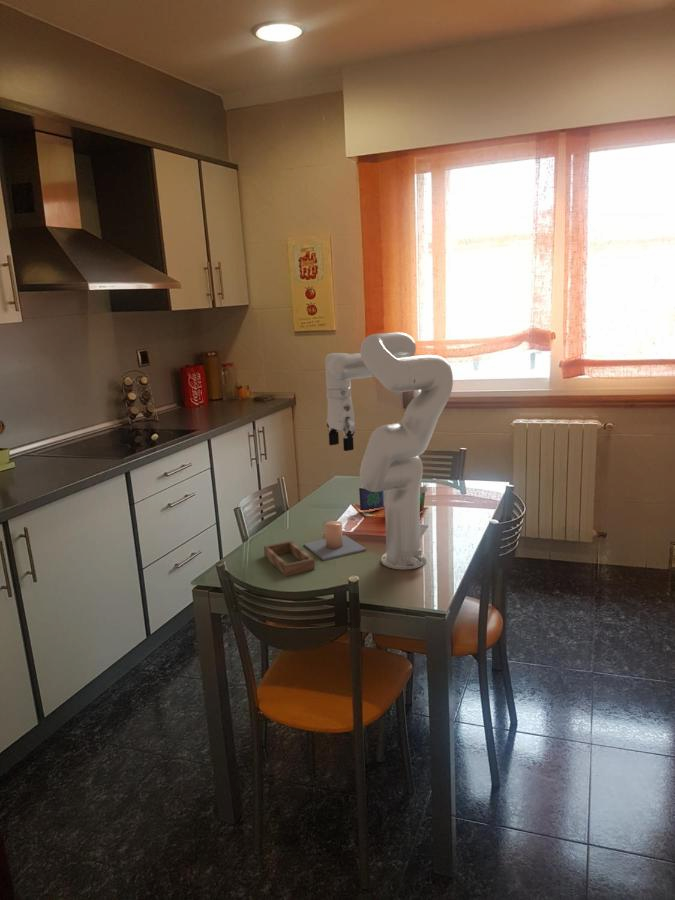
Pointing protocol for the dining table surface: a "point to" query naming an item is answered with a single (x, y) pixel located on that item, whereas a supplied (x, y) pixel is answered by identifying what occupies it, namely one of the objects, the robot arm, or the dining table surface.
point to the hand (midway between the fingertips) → (341, 447)
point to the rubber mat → (327, 553)
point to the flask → (370, 499)
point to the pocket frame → (291, 568)
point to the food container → (422, 497)
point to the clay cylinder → (333, 534)
